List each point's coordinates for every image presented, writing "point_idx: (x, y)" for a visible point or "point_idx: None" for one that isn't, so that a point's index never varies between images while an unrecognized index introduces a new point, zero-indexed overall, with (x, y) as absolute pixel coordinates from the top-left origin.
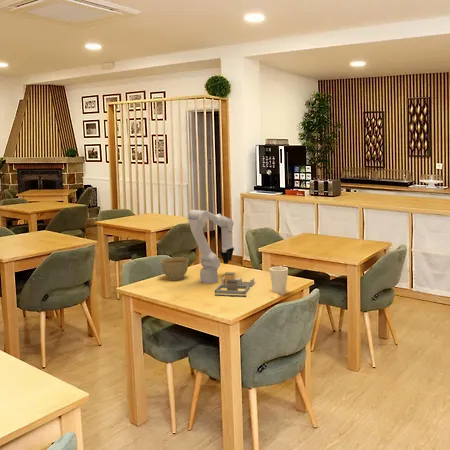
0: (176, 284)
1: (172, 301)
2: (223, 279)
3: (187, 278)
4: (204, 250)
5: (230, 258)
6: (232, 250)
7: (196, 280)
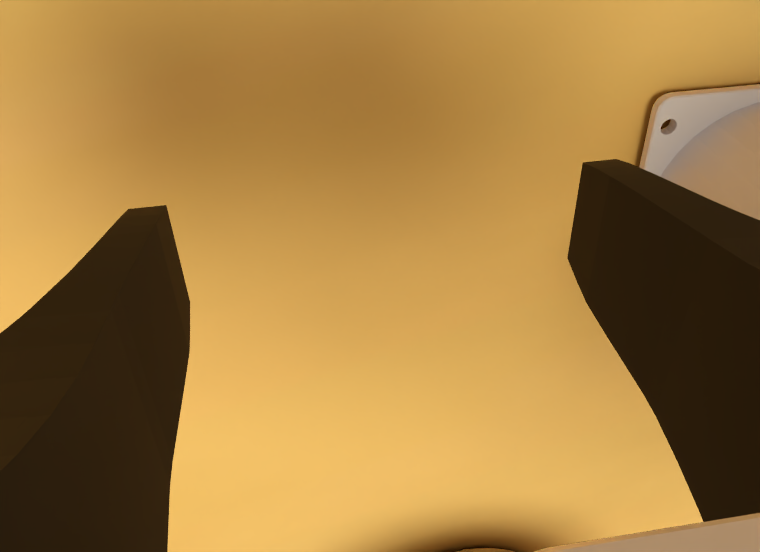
0: (687, 506)
1: None
2: None
3: (444, 521)
4: None
5: (159, 258)
6: (52, 456)
7: (527, 419)
